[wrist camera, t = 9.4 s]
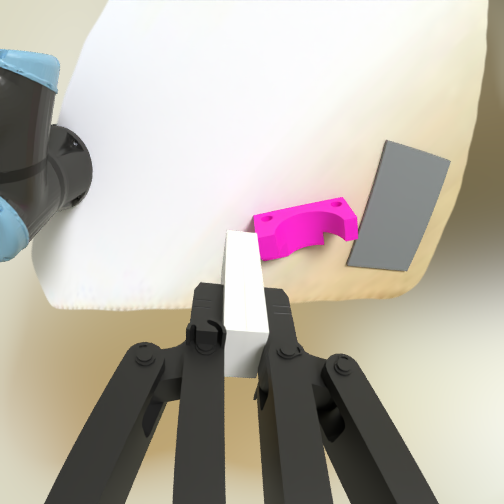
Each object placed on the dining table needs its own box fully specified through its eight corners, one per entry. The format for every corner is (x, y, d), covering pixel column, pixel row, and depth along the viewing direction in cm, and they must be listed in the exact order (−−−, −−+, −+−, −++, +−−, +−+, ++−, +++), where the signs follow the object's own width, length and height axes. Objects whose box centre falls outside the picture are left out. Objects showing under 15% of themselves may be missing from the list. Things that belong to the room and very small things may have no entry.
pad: (346, 263, 57) (347, 265, 57) (386, 139, 44) (387, 140, 44) (405, 269, 59) (407, 271, 59) (448, 160, 46) (450, 161, 46)
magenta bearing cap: (261, 246, 55) (264, 272, 48) (253, 214, 51) (255, 238, 45) (344, 228, 53) (358, 252, 47) (342, 196, 50) (357, 217, 44)
